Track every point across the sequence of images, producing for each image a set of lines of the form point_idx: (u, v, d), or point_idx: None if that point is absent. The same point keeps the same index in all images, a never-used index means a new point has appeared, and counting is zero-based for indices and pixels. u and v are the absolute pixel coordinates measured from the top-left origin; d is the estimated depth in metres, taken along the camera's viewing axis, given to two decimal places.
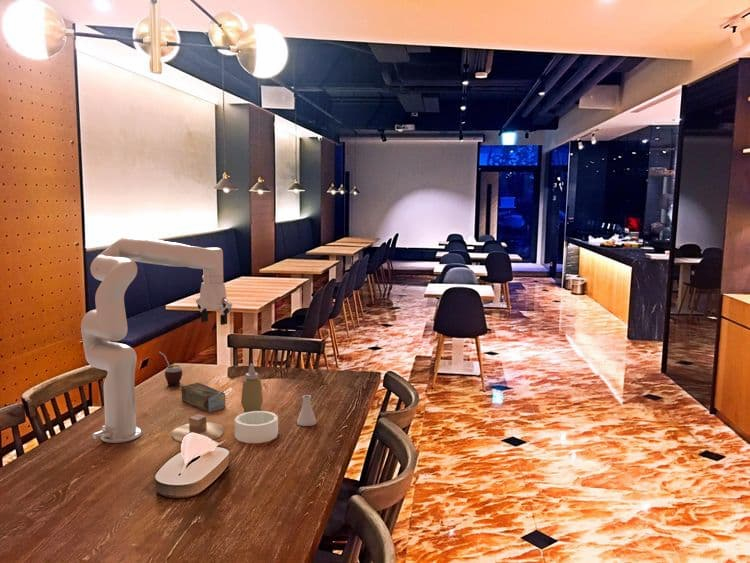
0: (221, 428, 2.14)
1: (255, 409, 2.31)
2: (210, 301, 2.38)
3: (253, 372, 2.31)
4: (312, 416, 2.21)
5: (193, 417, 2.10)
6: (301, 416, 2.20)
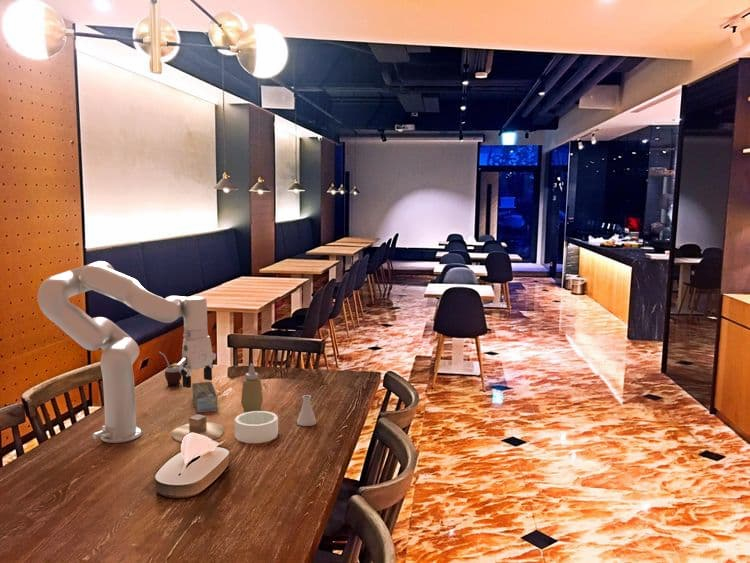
0: (221, 428, 2.14)
1: (255, 409, 2.31)
2: (204, 357, 2.07)
3: (253, 372, 2.31)
4: (312, 416, 2.21)
5: (193, 417, 2.10)
6: (301, 416, 2.20)
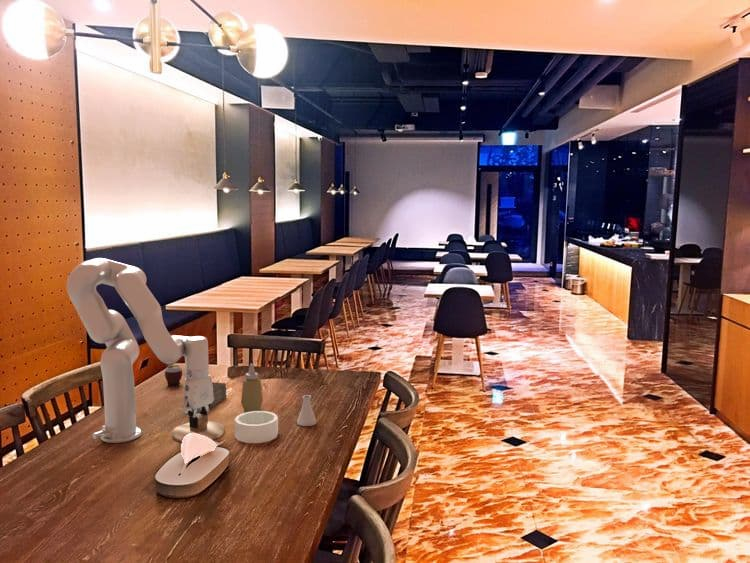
0: (222, 427, 2.14)
1: (255, 409, 2.31)
2: (205, 397, 2.09)
3: (253, 372, 2.31)
4: (312, 416, 2.21)
5: None
6: (301, 416, 2.20)
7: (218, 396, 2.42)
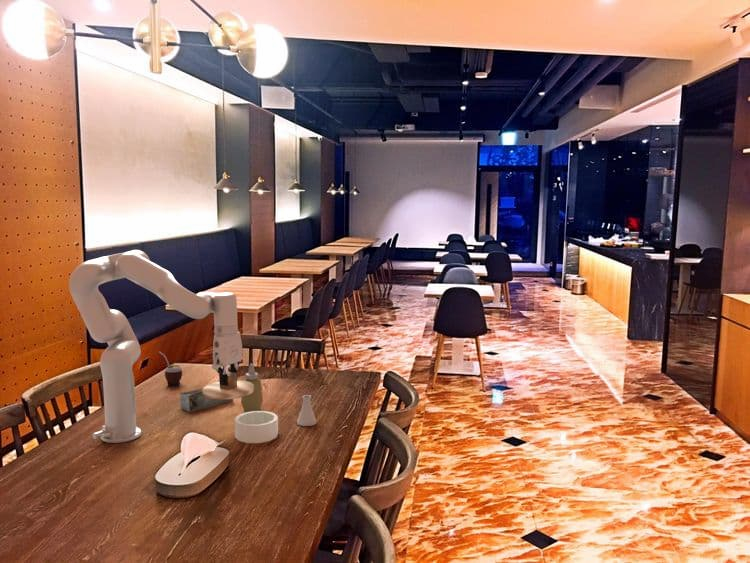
0: (251, 385, 2.11)
1: (255, 409, 2.31)
2: (235, 353, 2.06)
3: (253, 372, 2.31)
4: (312, 416, 2.21)
5: None
6: (301, 416, 2.20)
7: (218, 399, 2.39)
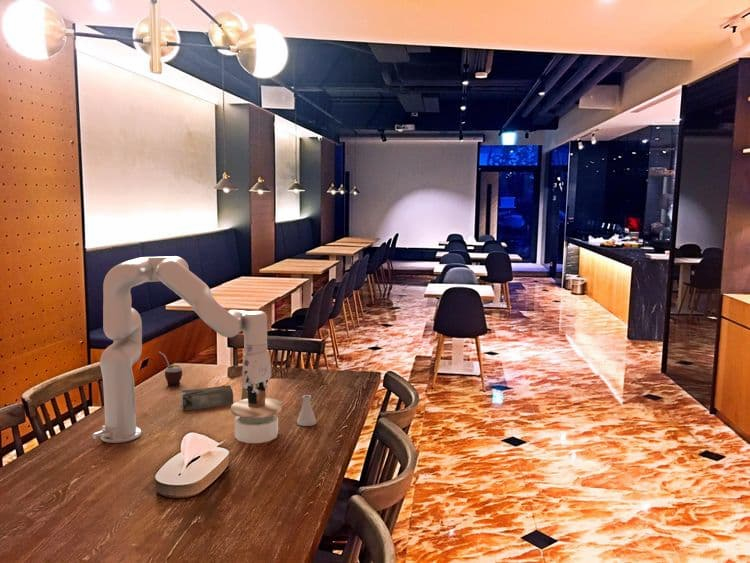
0: (279, 403, 2.12)
1: None
2: (264, 372, 2.07)
3: None
4: (312, 416, 2.21)
5: None
6: (301, 416, 2.20)
7: (216, 400, 2.37)
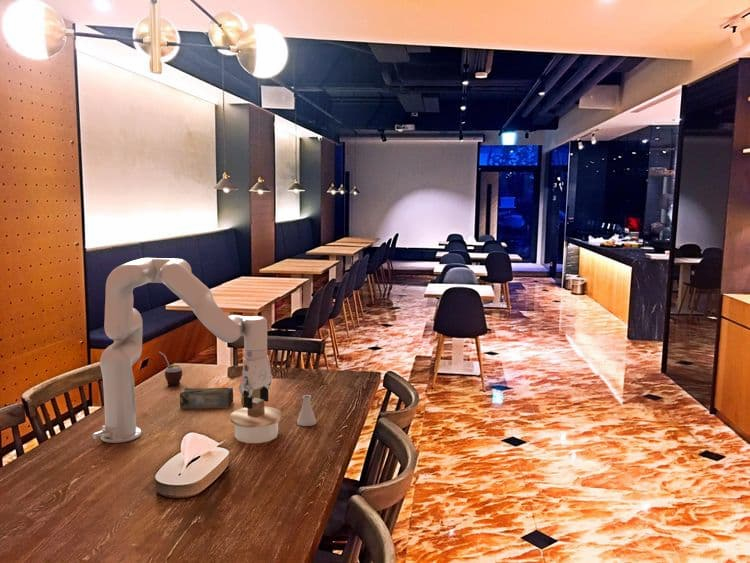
0: (278, 412, 2.12)
1: None
2: (264, 377, 2.07)
3: None
4: (312, 416, 2.21)
5: None
6: (301, 416, 2.20)
7: (212, 402, 2.36)
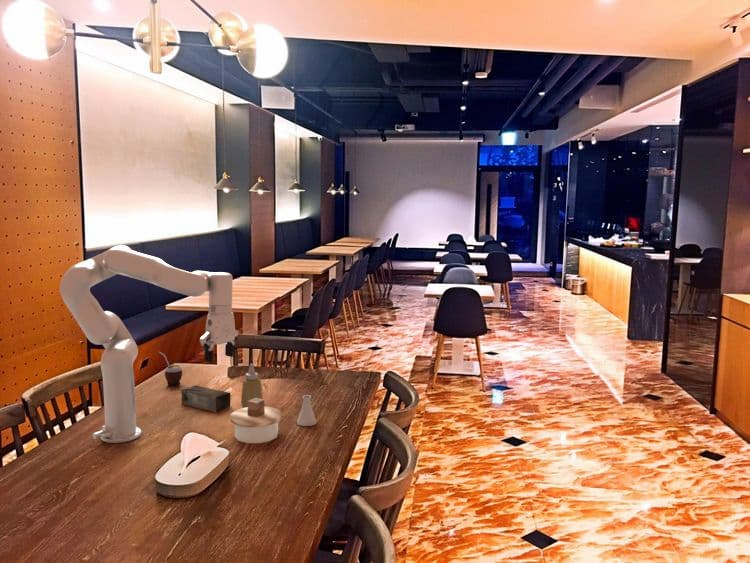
0: (278, 412, 2.12)
1: None
2: (227, 333, 2.08)
3: (253, 372, 2.31)
4: (312, 416, 2.21)
5: (251, 400, 2.08)
6: (301, 416, 2.20)
7: (203, 403, 2.34)
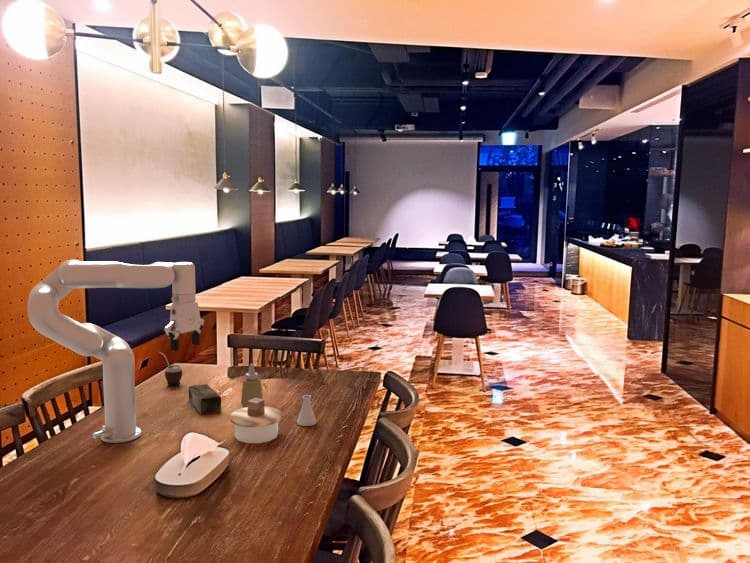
0: (278, 412, 2.12)
1: None
2: (192, 322, 2.12)
3: (253, 372, 2.31)
4: (312, 416, 2.21)
5: (251, 400, 2.08)
6: (301, 416, 2.20)
7: (196, 403, 2.34)
